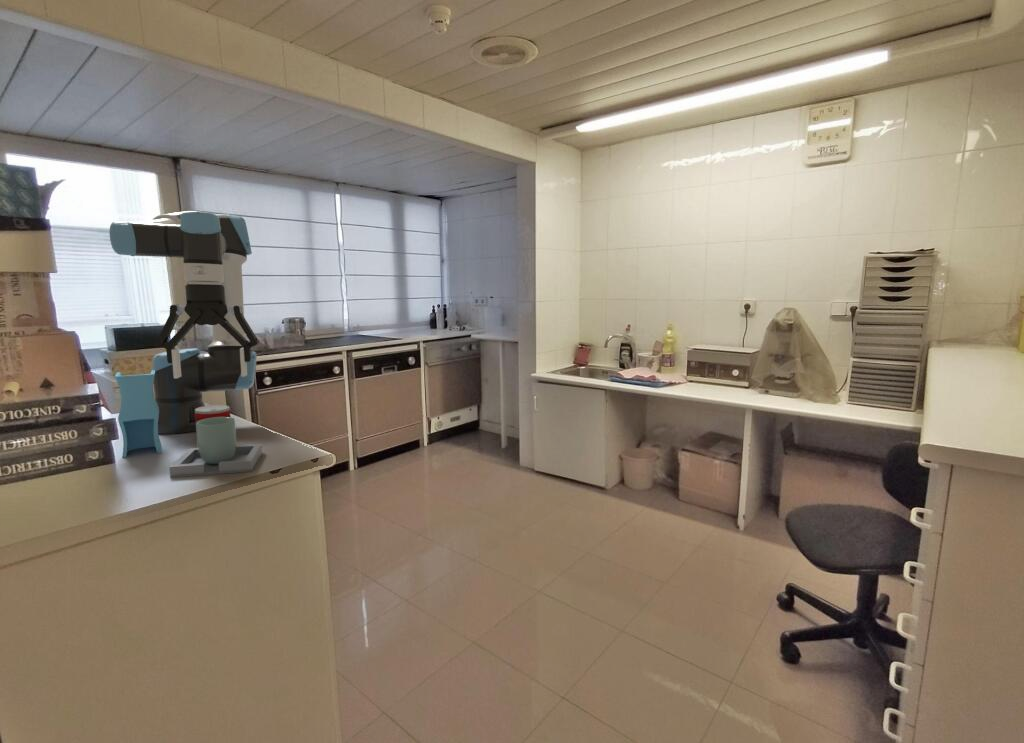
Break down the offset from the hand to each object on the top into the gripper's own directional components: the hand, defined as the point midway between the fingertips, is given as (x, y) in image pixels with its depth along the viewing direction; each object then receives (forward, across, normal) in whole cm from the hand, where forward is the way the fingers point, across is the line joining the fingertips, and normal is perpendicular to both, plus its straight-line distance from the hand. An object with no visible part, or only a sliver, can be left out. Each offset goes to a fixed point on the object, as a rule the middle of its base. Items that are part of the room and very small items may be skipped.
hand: (211, 376), depth 115 cm
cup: (+20, 0, -1) cm, 21 cm away
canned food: (+21, -3, +12) cm, 25 cm away
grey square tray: (+21, +1, -1) cm, 21 cm away
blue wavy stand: (+21, -20, +15) cm, 33 cm away
